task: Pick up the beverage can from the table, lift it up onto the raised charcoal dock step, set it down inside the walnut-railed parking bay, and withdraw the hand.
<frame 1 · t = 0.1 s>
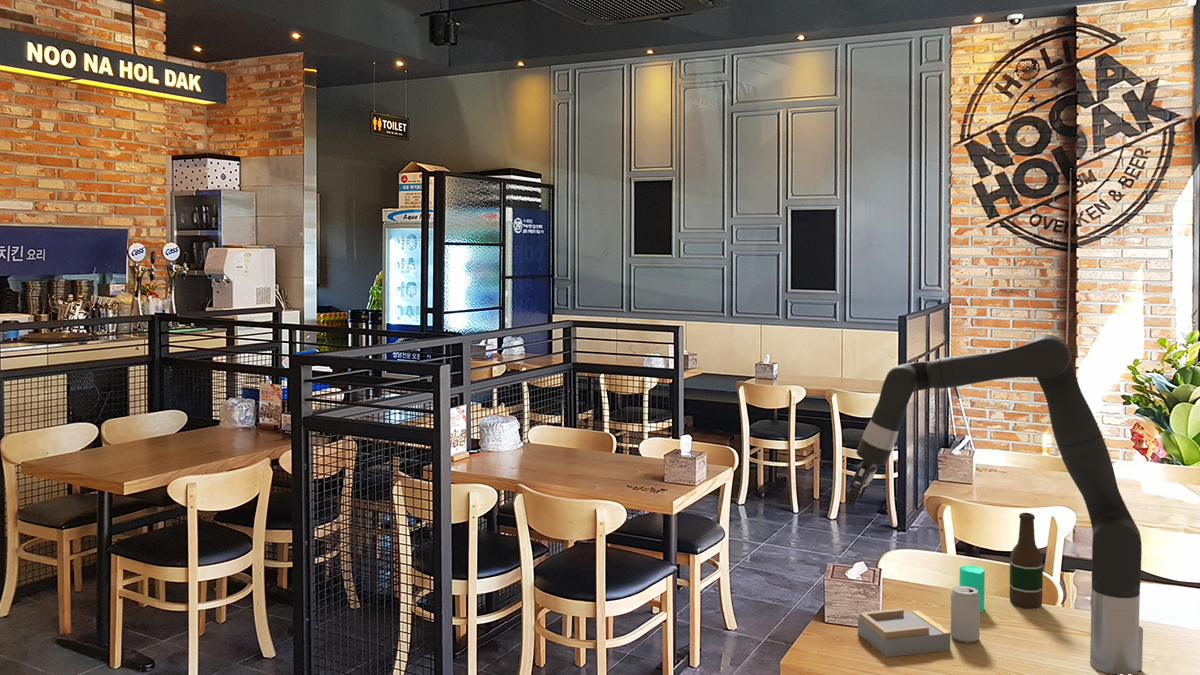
hand: (853, 500, 228), 31 cm above the table, tool tilted 20°, fingers open, 8 cm apart
beer bottle: (1025, 604, 242), on the table
candle: (971, 608, 240), on the table
beverage can: (964, 639, 221), on the table
dock: (903, 641, 220), on the table
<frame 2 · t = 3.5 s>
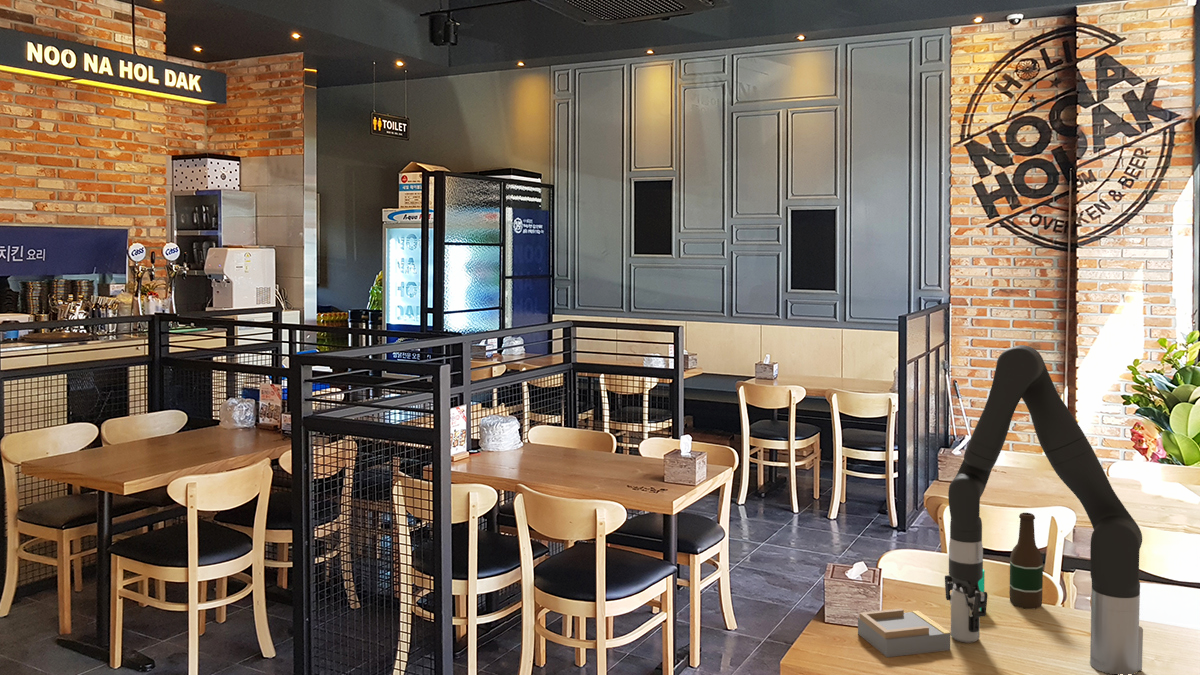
hand: (965, 625, 221), 3 cm above the table, tool pointing down, fingers closed on beverage can, 6 cm apart
beverage can: (964, 639, 221), on the table, touching gripper
everything else where it was.
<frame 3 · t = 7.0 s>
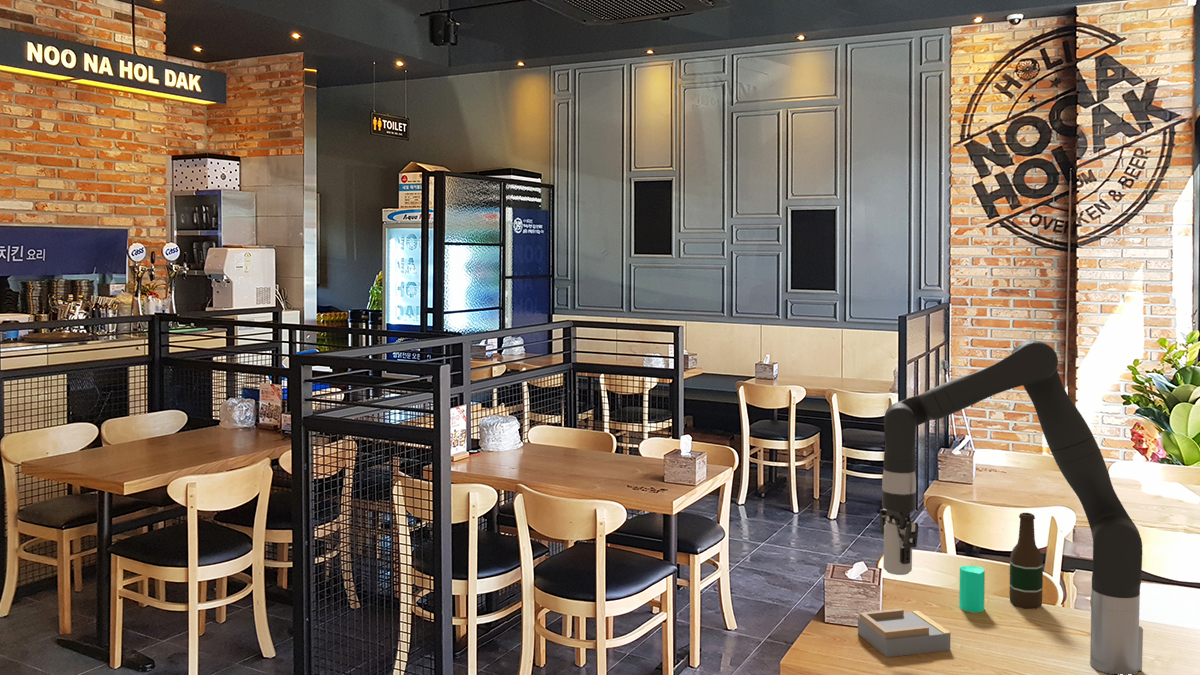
hand: (897, 558, 218), 20 cm above the table, tool pointing down, fingers closed on beverage can, 6 cm apart
beverage can: (897, 572, 219), point 17 cm above the table, touching gripper
everything else where it was.
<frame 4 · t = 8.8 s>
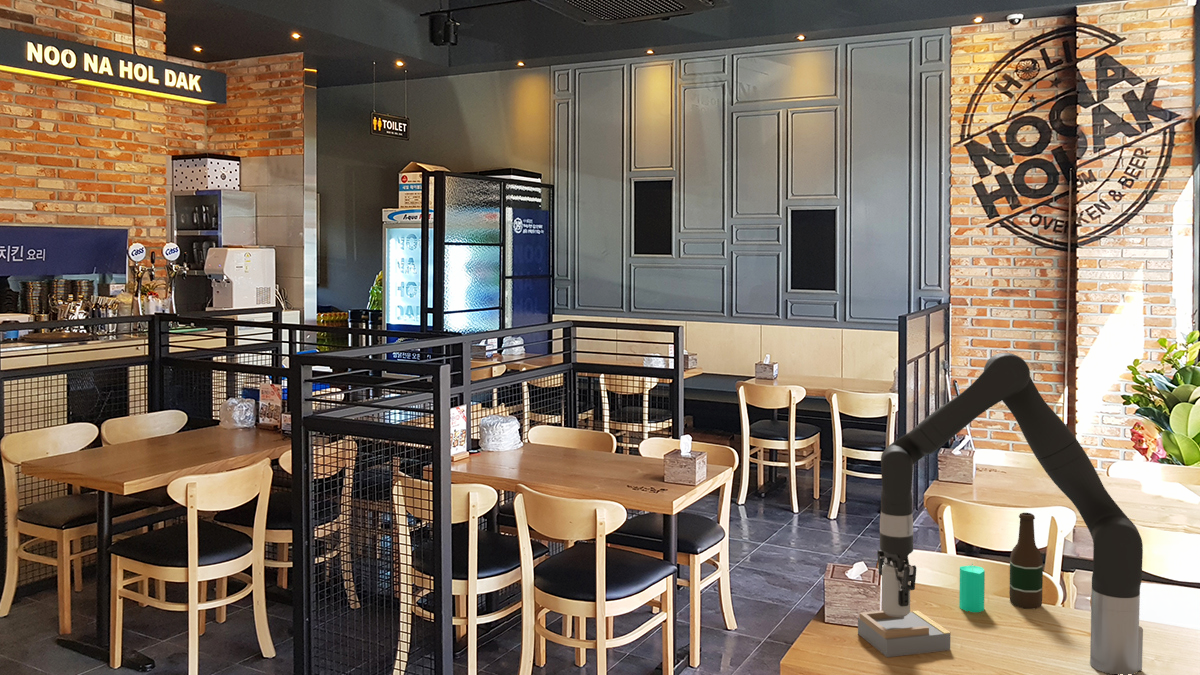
hand: (896, 600, 219), 10 cm above the table, tool pointing down, fingers closed on beverage can, 6 cm apart
beverage can: (895, 614, 219), point 7 cm above the table, touching gripper
everything else where it was.
when the fingers open (8 cm above the table, at t = 10.1 s): beverage can drops 1 cm, resting on dock.
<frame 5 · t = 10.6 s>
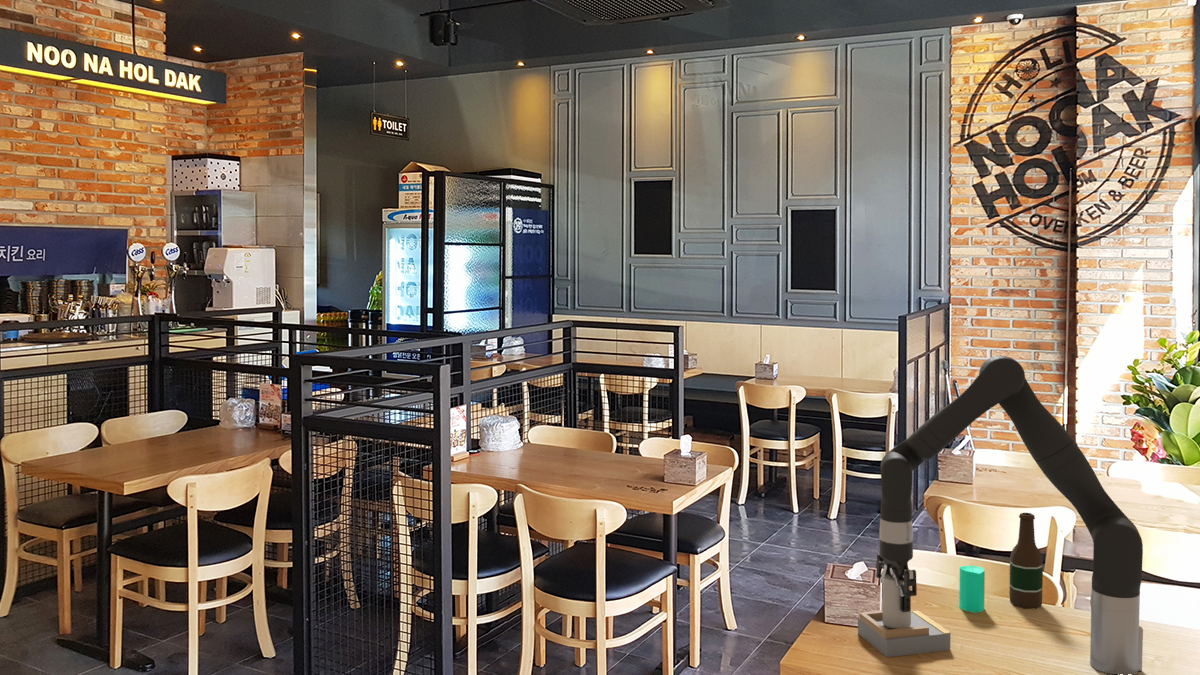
hand: (895, 605, 219), 9 cm above the table, tool pointing down, fingers open, 8 cm apart
beverage can: (896, 627, 219), point 4 cm above the table, touching dock
everything else where it was.
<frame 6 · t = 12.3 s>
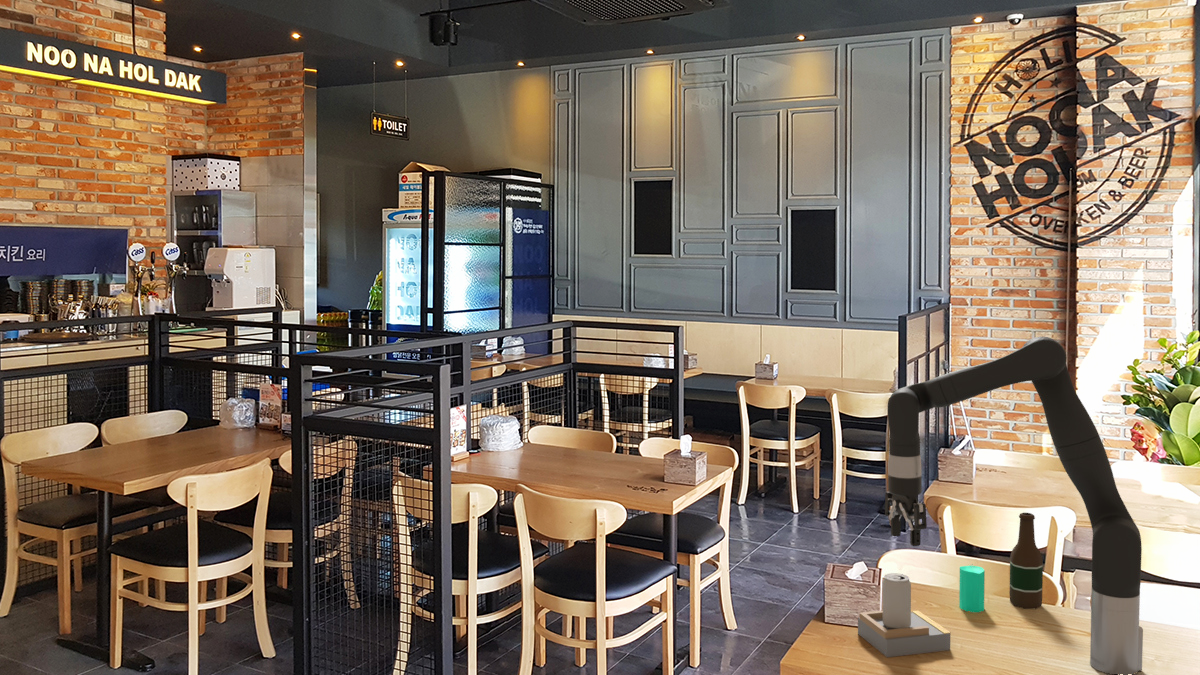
hand: (905, 540, 220), 24 cm above the table, tool pointing down, fingers open, 8 cm apart
nothing on the table moved.
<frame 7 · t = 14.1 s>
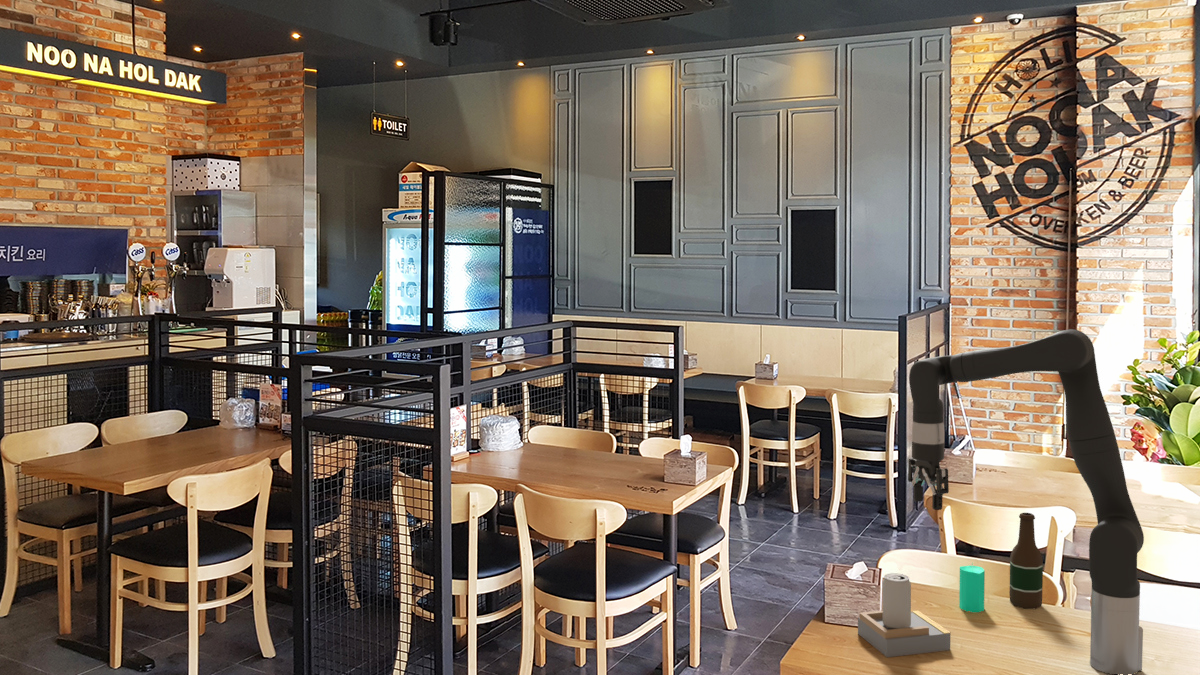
hand: (927, 505, 228), 30 cm above the table, tool pointing down, fingers open, 8 cm apart
nothing on the table moved.
at the end: beverage can 0.3 cm from the target spot on the dock, point 3.8 cm above the dock's base; beverage can tilted 0°; the gripper is holding nothing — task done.
